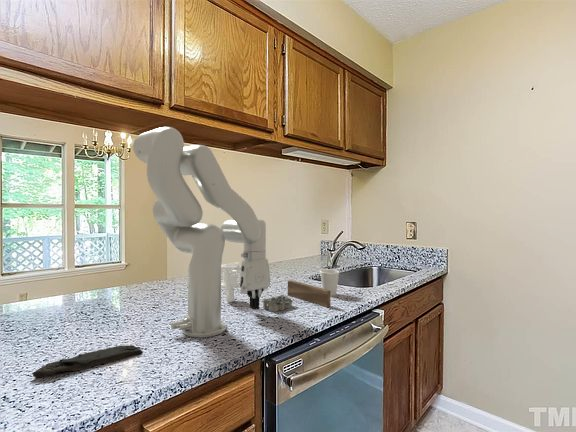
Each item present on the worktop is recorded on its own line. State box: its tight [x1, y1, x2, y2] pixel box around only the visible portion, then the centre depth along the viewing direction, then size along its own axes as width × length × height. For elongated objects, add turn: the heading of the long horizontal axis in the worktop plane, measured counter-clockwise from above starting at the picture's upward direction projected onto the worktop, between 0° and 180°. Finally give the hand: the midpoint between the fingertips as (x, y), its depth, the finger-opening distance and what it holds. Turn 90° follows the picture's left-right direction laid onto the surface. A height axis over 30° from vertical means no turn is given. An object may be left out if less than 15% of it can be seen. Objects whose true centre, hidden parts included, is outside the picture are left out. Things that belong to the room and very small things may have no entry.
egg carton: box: [261, 294, 294, 313], centre depth 120 cm, size 11×8×4 cm
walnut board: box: [287, 280, 332, 308], centre depth 129 cm, size 2×22×6 cm, turn 41°
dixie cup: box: [319, 268, 340, 297], centre depth 139 cm, size 8×8×10 cm
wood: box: [31, 344, 143, 379], centre depth 76 cm, size 22×7×3 cm, turn 132°
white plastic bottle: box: [221, 262, 240, 303], centre depth 128 cm, size 7×7×15 cm
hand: (254, 308), depth 112 cm, fingers closed
